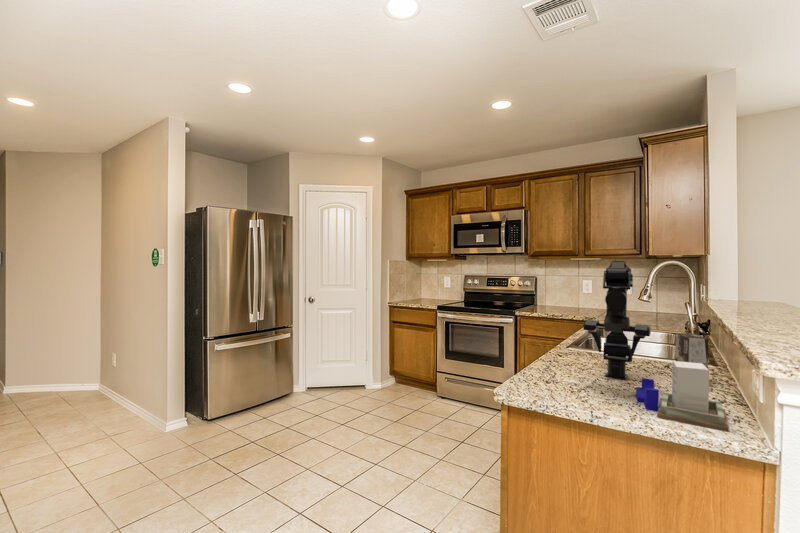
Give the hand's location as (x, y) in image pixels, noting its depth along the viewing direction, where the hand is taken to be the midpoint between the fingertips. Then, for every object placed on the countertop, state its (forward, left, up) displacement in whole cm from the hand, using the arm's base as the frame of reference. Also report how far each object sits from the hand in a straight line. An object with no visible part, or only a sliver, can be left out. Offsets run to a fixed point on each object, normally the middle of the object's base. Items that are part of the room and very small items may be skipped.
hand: (615, 354), depth 130 cm
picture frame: (+10, +20, -12) cm, 25 cm away
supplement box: (+9, +20, -11) cm, 24 cm away
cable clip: (+7, +9, -12) cm, 17 cm away
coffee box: (-28, +20, -12) cm, 37 cm away
